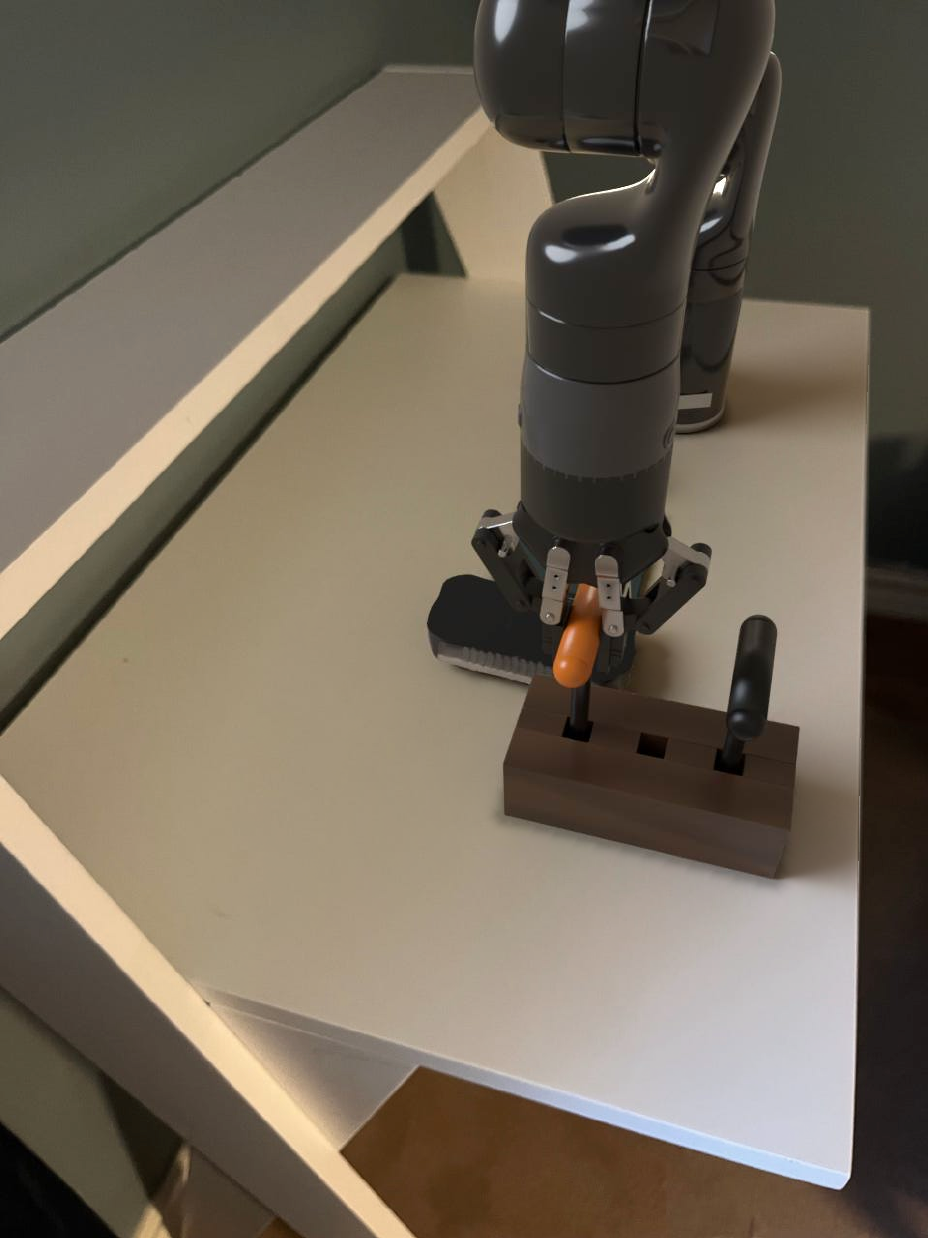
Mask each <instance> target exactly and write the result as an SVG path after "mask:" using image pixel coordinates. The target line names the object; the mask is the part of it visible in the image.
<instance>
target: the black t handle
mask: <svg viewBox="0 0 928 1238" xmlns="http://www.w3.org/2000/svg"><path fill="white" fill-rule="evenodd" d="M777 639H778V628H777V625H776V623H775V622H774V620H773V619H772V618H771V617H768V616H766V615H764V614H753V615H751V616H748V617H746V618H745V619H744V620H743V621H742V623H741V624H740V627H739V632H738V638H737V645H736V651H735V656H734V657H735V658H734V663H733V669H732V676H731V683H730V689H729V696H728V703H727V708H726V712H727V714H726V726H727V729H728V732H727V736H726V740H725V744H724V748H723V752H722V756H721V760H720V764H719V768H718V771H720V772H725V773H729V774H734V775H737V771H738V767H739V764H740V760H741V756H742V753H743V749H744V746H745V742H746V741H752V740H755V739H757V738H759V737H760V736H761V735H762V734H763V732H764V731H765V729H766V725H767V720H768V718H769V717H768V715H769V709H770V708H769V707H770V699H771V691H772V681H773V673H774V667H775V666H774V665H775V657H776V651H777V650H776V649H777V643H778V642H777Z"/></svg>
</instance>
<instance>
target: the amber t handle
mask: <svg viewBox="0 0 928 1238" xmlns="http://www.w3.org/2000/svg"><path fill="white" fill-rule="evenodd" d="M573 600H574V602H573V605H572V608H571V611H570V615H569V618H568V621H567V624H566V627H565V630H564V633H563V636H562V639H561V642H560V645H559V648H558V651H557V654H556V658H555V661H554V664H553V674H554V676H555V679H556V680H557V681H558V682H559V683H560V684H561V685H563V686H565V687H568V688H572V692H571V711H570V729H569V739H573V740H577V741H582V742H587V729H588V716H589V703H590V690H591V677H592V668H593V665H594V661H595V658H596V654H597V651H598V647H599V643H600V640H599V634H600V631H601V627H602V624H603V623H602V610H601V609H599V597H598V589H597V588H594V587H592V586H589V585H586V584H579V586H578V590H577V593H576V596H575V598H573Z"/></svg>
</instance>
